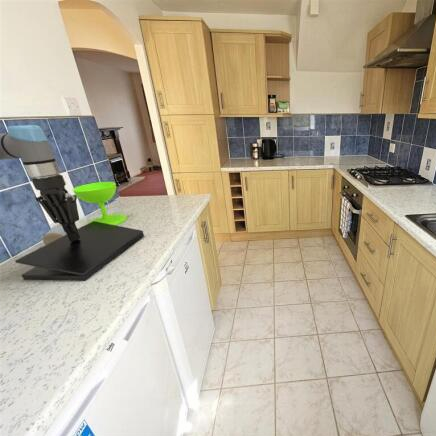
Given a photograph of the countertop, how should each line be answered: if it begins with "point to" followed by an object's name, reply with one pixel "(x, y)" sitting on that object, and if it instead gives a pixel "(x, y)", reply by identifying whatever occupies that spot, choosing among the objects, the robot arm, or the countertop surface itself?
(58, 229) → the ceramic mug
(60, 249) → the laptop screen
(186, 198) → the countertop surface
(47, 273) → the laptop
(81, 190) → the wineglass
